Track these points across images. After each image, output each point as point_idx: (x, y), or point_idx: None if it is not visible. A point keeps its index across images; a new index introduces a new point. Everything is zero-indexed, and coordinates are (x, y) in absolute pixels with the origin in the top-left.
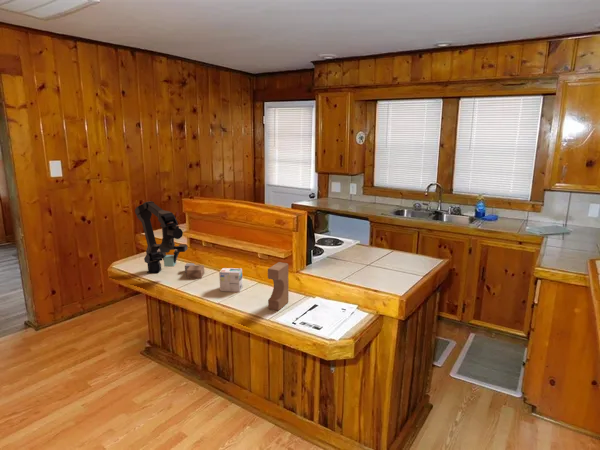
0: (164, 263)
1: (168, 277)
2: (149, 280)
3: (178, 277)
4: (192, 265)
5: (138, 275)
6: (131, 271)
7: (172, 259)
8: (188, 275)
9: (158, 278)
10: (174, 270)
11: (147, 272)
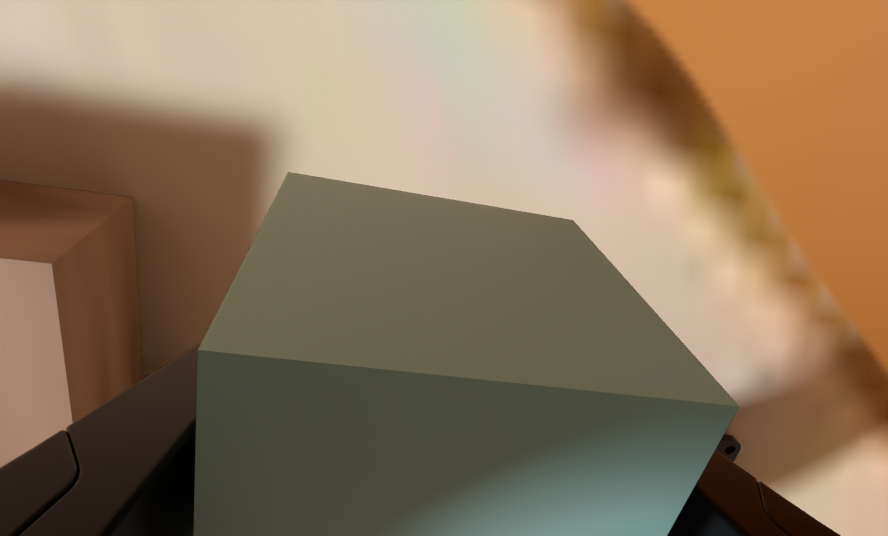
0: (599, 262)
1: None
2: (728, 189)
3: None
4: None
5: (836, 380)
6: (882, 490)
7: (250, 295)
8: (73, 211)
9: (600, 250)
10: None
11: (734, 440)
